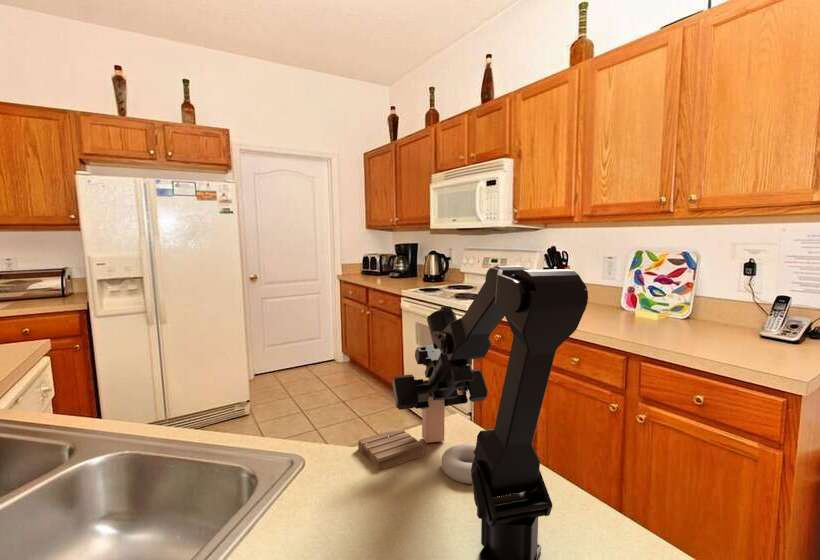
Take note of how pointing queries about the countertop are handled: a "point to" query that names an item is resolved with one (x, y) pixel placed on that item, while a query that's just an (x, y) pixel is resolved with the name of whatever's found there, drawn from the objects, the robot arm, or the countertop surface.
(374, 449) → the stacked wooden slats
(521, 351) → the robot arm
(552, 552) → the countertop surface
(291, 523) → the countertop surface
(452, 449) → the donut
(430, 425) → the clay bar
